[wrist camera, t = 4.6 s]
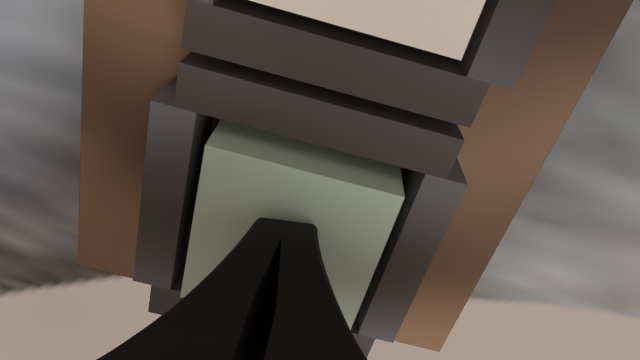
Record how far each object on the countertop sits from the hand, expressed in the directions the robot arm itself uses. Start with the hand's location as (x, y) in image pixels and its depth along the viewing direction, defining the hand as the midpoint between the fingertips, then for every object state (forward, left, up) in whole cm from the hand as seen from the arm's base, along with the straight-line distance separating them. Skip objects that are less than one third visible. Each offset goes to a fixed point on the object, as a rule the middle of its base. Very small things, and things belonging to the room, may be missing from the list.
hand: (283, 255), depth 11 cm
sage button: (0, 0, -3) cm, 3 cm away
